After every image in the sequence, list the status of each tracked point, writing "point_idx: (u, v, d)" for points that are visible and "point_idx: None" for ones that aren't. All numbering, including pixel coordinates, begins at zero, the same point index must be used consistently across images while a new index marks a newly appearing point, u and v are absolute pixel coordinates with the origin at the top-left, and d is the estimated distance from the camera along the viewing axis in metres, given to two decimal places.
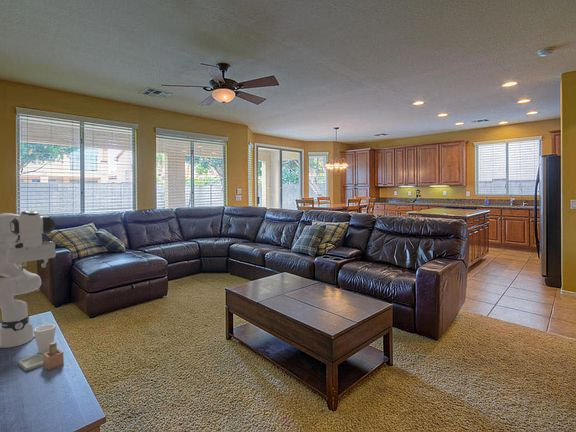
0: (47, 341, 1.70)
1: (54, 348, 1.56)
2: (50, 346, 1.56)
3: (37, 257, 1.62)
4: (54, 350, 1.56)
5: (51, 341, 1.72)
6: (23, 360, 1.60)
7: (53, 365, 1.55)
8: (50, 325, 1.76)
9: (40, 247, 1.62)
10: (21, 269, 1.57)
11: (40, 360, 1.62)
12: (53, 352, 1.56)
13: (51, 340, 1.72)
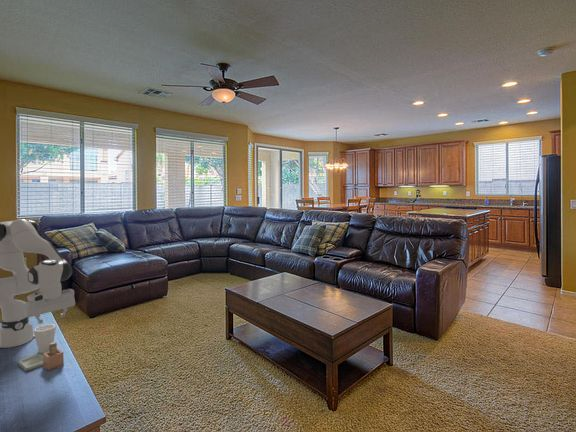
0: (47, 341, 1.70)
1: (54, 348, 1.56)
2: (50, 346, 1.56)
3: (57, 308, 1.56)
4: (54, 350, 1.56)
5: (51, 341, 1.72)
6: (23, 360, 1.60)
7: (53, 365, 1.55)
8: (50, 325, 1.76)
9: (59, 297, 1.57)
10: (40, 321, 1.51)
11: (40, 360, 1.62)
12: (53, 352, 1.56)
13: (51, 340, 1.72)
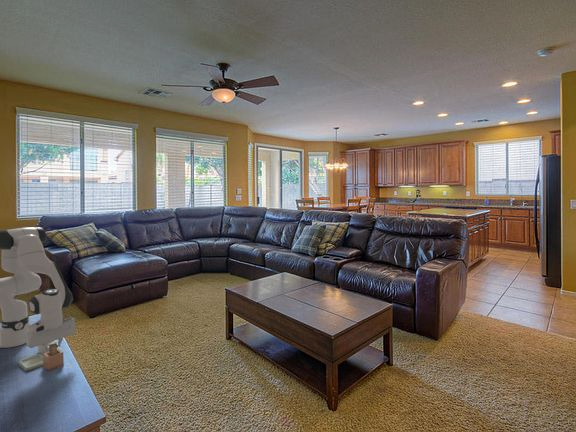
0: None
1: (54, 348, 1.56)
2: (50, 346, 1.56)
3: (58, 337, 1.57)
4: (54, 350, 1.56)
5: (51, 341, 1.72)
6: (23, 360, 1.60)
7: (53, 365, 1.55)
8: None
9: (60, 326, 1.58)
10: (48, 349, 1.55)
11: (40, 360, 1.62)
12: (53, 352, 1.56)
13: None
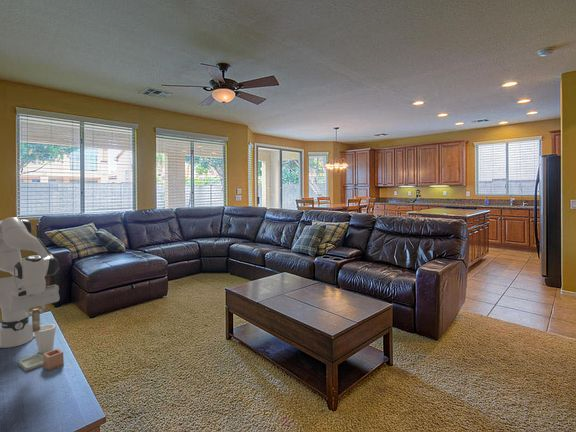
0: (47, 341, 1.70)
1: (37, 314, 1.57)
2: (33, 312, 1.56)
3: (41, 303, 1.58)
4: (37, 316, 1.57)
5: (51, 341, 1.72)
6: (23, 360, 1.60)
7: (53, 365, 1.55)
8: (50, 325, 1.76)
9: (43, 292, 1.58)
10: (30, 315, 1.55)
11: (40, 360, 1.62)
12: (35, 318, 1.57)
13: (51, 340, 1.72)
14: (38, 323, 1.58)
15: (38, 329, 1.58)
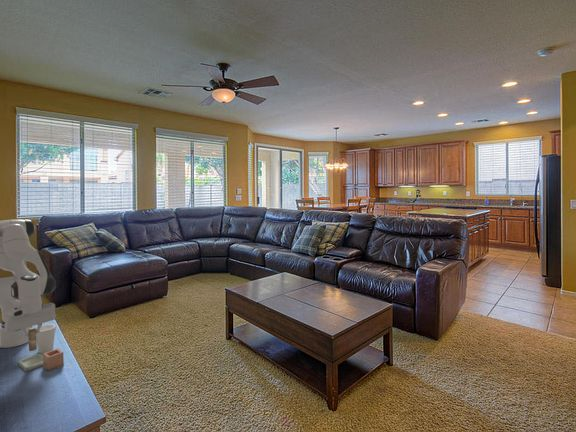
0: (47, 341, 1.70)
1: (33, 333, 1.58)
2: (29, 331, 1.57)
3: (37, 322, 1.59)
4: (33, 335, 1.58)
5: (51, 341, 1.72)
6: (23, 360, 1.60)
7: (53, 365, 1.55)
8: (50, 325, 1.76)
9: (40, 311, 1.59)
10: (27, 334, 1.56)
11: (40, 360, 1.62)
12: (32, 337, 1.57)
13: (51, 340, 1.72)
14: (34, 342, 1.58)
15: (35, 348, 1.59)
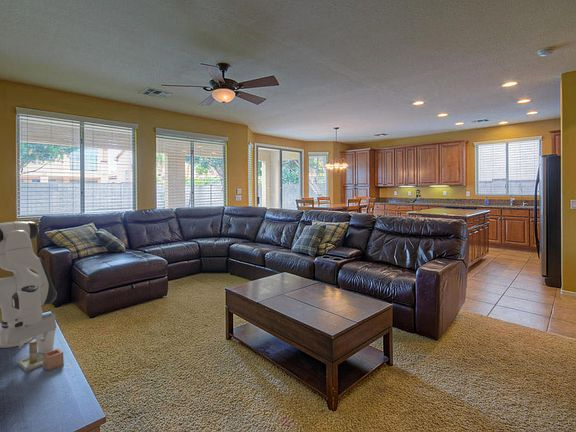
0: (47, 341, 1.70)
1: (34, 346, 1.58)
2: (30, 344, 1.57)
3: (37, 333, 1.59)
4: (34, 348, 1.58)
5: (51, 341, 1.72)
6: (23, 360, 1.60)
7: (53, 365, 1.55)
8: None
9: (40, 322, 1.60)
10: (21, 347, 1.55)
11: (40, 360, 1.62)
12: (33, 350, 1.58)
13: (51, 340, 1.72)
14: (35, 355, 1.59)
15: (35, 361, 1.59)
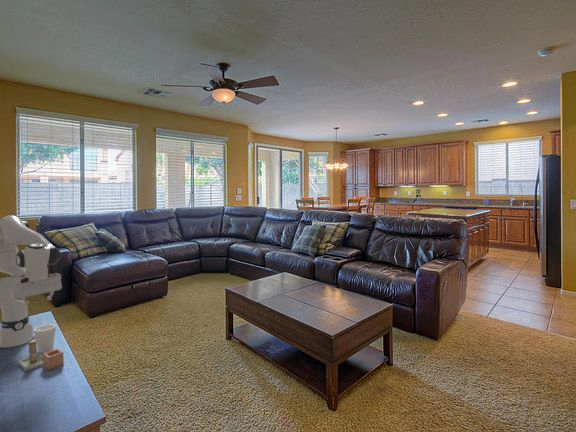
0: (47, 341, 1.70)
1: (34, 346, 1.58)
2: (29, 344, 1.58)
3: (43, 291, 1.59)
4: (34, 348, 1.58)
5: (51, 341, 1.72)
6: (23, 360, 1.60)
7: (53, 365, 1.55)
8: (50, 325, 1.76)
9: (46, 280, 1.60)
10: (27, 303, 1.55)
11: (40, 360, 1.62)
12: (32, 350, 1.58)
13: (51, 340, 1.72)
14: (35, 355, 1.59)
15: (35, 361, 1.59)
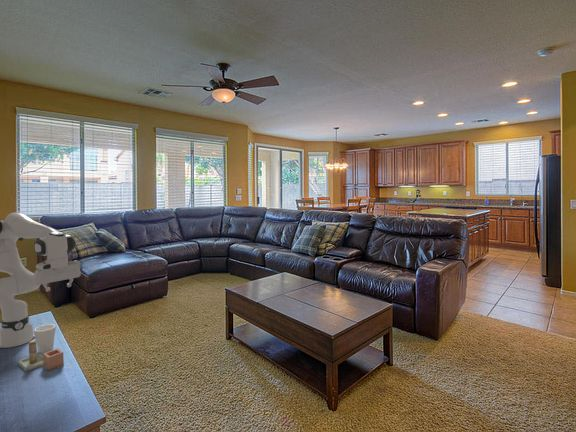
0: (47, 341, 1.70)
1: (33, 346, 1.58)
2: (29, 344, 1.58)
3: (63, 277, 1.64)
4: (33, 348, 1.58)
5: (51, 341, 1.72)
6: (23, 360, 1.60)
7: (53, 365, 1.55)
8: (50, 325, 1.76)
9: (66, 267, 1.65)
10: (48, 289, 1.59)
11: (40, 360, 1.62)
12: (32, 350, 1.58)
13: (51, 340, 1.72)
14: (35, 355, 1.59)
15: (35, 361, 1.59)
